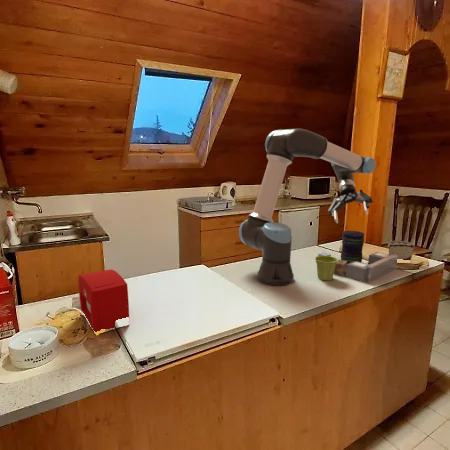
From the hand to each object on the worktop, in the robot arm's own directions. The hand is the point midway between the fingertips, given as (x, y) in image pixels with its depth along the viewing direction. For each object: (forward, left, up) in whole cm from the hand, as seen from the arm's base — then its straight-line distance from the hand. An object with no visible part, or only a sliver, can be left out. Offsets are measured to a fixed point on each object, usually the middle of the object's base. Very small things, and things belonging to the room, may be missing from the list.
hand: (351, 216), depth 156 cm
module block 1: (+10, -9, -24) cm, 27 cm away
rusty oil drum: (-2, +6, -24) cm, 25 cm away
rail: (+15, +2, -24) cm, 28 cm away
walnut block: (+1, -10, -24) cm, 26 cm away
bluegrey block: (-8, -8, -24) cm, 26 cm away
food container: (+12, +25, -24) cm, 37 cm away
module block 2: (+10, +12, -24) cm, 28 cm away
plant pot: (+1, -21, -24) cm, 32 cm away
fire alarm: (-24, -107, -24) cm, 112 cm away
